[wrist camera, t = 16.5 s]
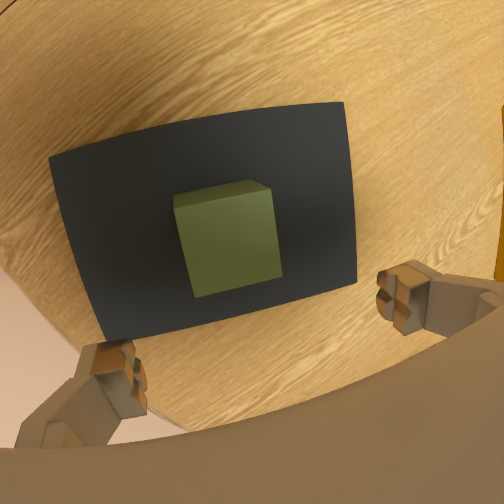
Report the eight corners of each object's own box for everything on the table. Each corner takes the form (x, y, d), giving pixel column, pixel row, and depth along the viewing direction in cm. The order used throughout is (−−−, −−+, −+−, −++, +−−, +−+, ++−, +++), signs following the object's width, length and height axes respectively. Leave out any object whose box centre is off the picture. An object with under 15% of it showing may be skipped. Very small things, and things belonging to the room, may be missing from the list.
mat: (108, 342, 22) (108, 344, 22) (50, 157, 17) (48, 157, 17) (354, 280, 25) (357, 282, 25) (340, 102, 20) (343, 101, 20)
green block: (189, 267, 21) (194, 298, 17) (173, 195, 20) (173, 208, 15) (261, 251, 22) (282, 276, 18) (250, 178, 20) (271, 188, 16)
